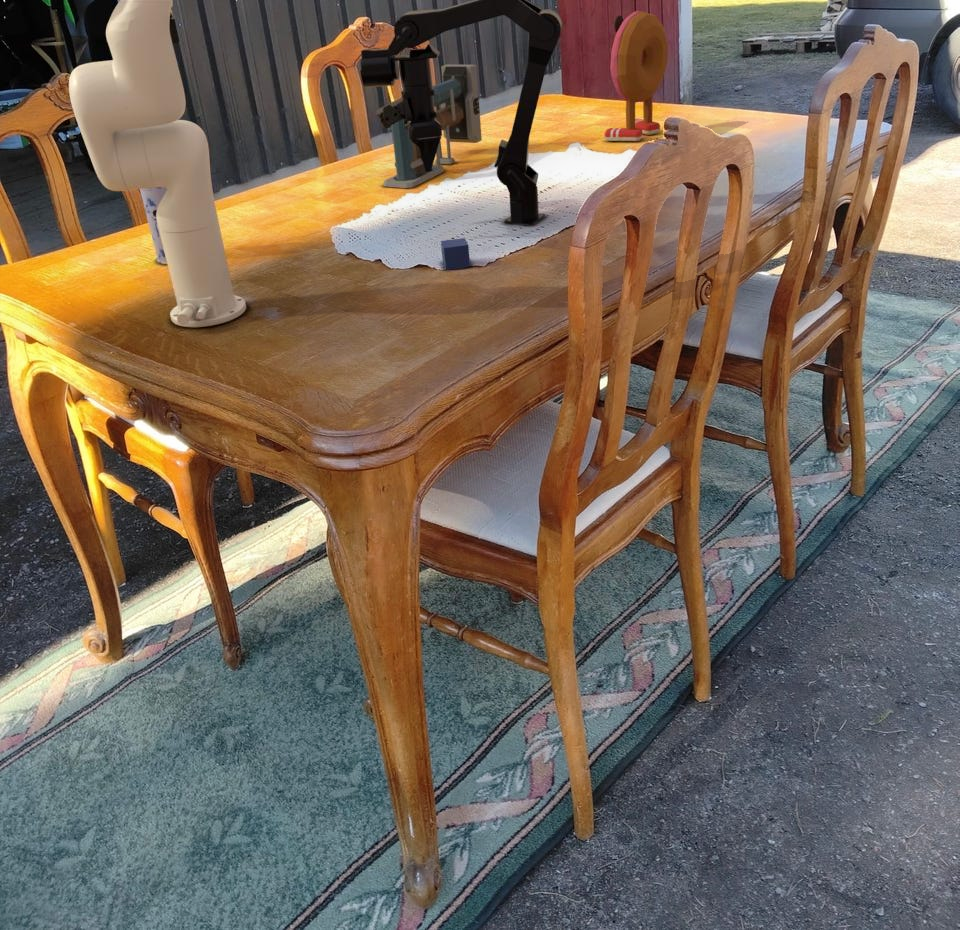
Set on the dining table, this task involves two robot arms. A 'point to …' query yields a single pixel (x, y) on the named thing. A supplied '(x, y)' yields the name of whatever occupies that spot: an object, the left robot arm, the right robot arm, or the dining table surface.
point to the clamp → (455, 120)
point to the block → (455, 253)
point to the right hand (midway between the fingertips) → (426, 166)
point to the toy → (637, 71)
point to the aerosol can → (154, 217)
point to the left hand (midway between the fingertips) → (167, 46)
